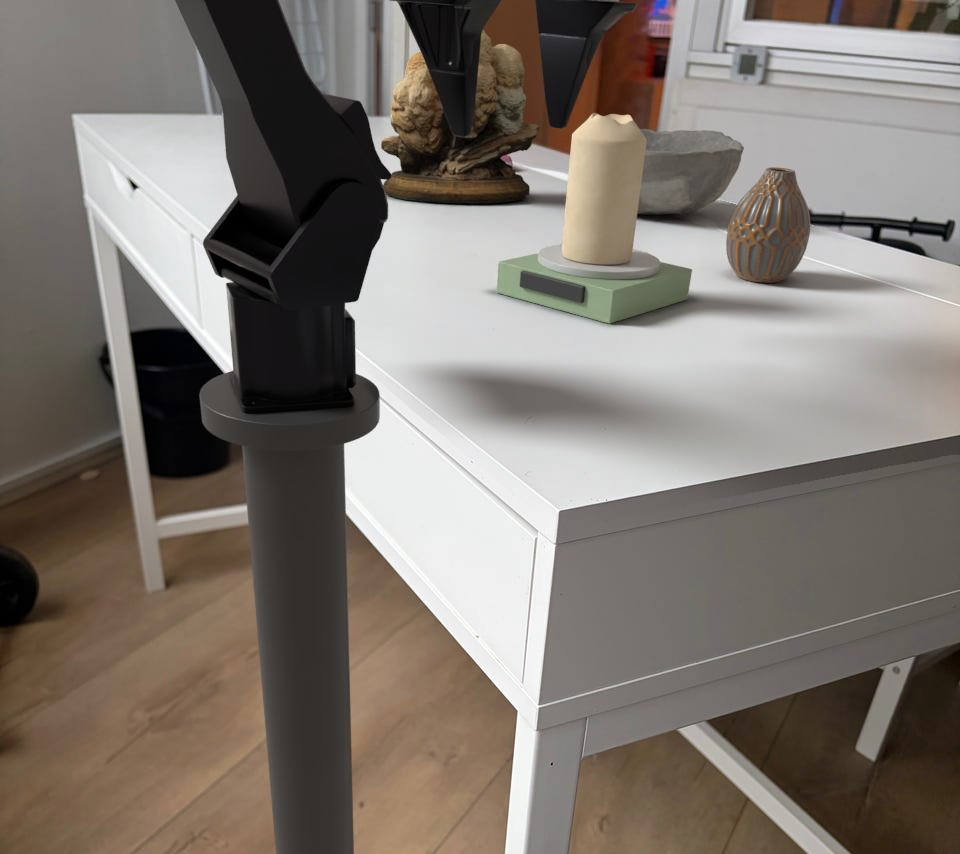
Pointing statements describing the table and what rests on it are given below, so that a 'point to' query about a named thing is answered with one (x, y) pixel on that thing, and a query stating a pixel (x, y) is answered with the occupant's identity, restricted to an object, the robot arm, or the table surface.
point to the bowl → (686, 170)
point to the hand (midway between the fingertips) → (511, 132)
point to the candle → (603, 190)
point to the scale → (594, 284)
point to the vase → (769, 228)
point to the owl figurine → (460, 160)
